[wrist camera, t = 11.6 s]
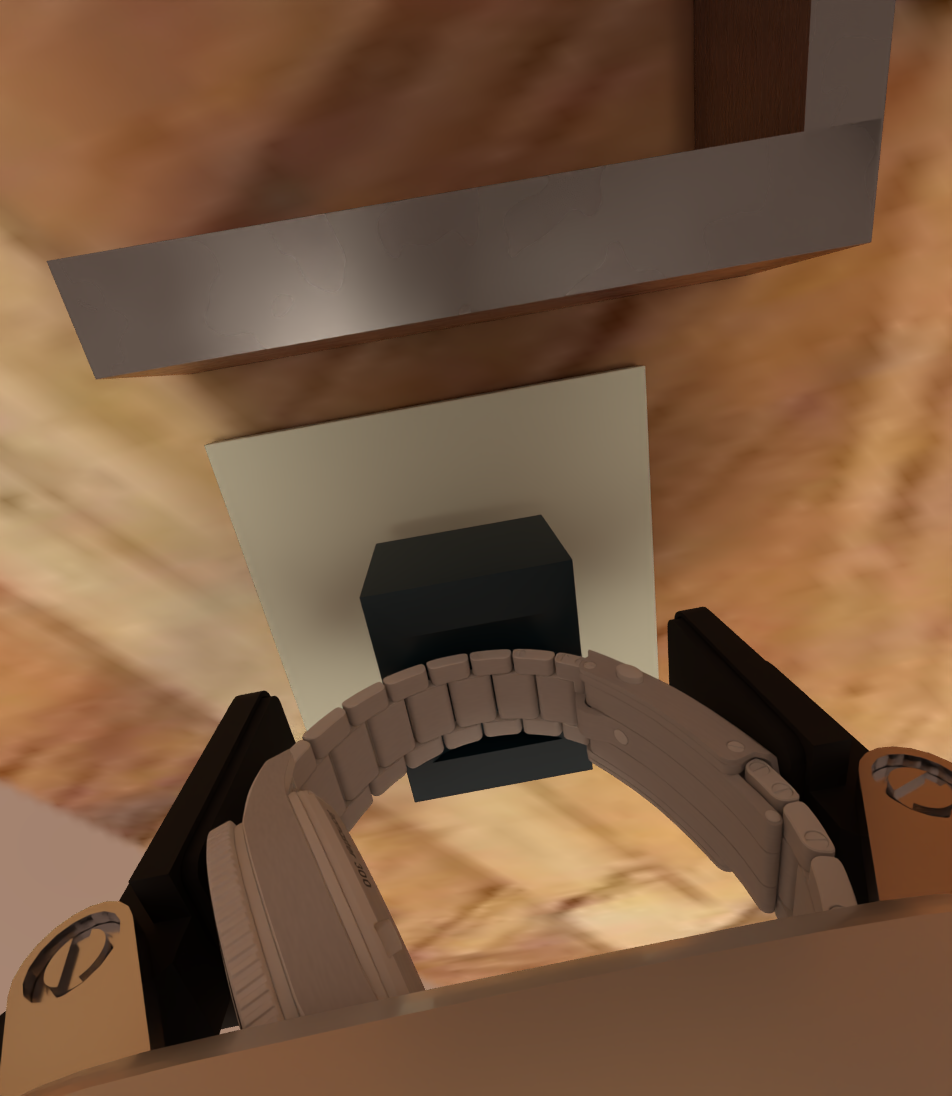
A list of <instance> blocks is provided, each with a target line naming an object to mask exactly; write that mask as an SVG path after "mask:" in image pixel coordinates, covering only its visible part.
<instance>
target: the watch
mask: <svg viewBox="0 0 952 1096" xmlns="http://www.w3.org/2000/svg"><path fill="white" fill-rule="evenodd" d="M359 598H360V602H361V606H362V609H363V613H364V617H365V620H366V624H367V628H368V631H369V635H370V639H371V642H372V646H373V650H374V653H375V657H376V661H377V664H378V668H379V672H380V675H381V679H382V683H383V684H382V683H381V682H377V683H375V684H373V685H371V686H369V687H367V688H365V689H363V690H361V691H360V692H358V693H356V694H355V695H353V696H351V697H350V698H348V699H347V700H345V701H344V702H343V703H342V707H343V709H342V708H340V707H337V708H335V709H334V710H332V711H331V712H329V713H328V714H327V715H325V716H324V717H323V718H322V719H320V720H319V721H318V722H317V723H315V724H314V725H313V726H312V727H311V728H310V729H309V730H308V731H306V732H305V733H304V735H303V737H302V738H303V740H300V741H298V742H297V743H295V744H294V745H293V746H292V747H291V748H290V749H288V750H286V751H284V752H282V753H280V754H279V755H277V756H275V757H273V758H271V759H269V760H267V761H266V762H265V763H264V765H263V767H262V768H261V770H260V771H259V773H258V774H257V776H256V778H255V779H254V781H253V783H252V785H251V788H250V790H249V793H248V796H247V800H246V804H245V809H244V815H243V821H242V823H240V824H238V825H237V826H236V825H235V824H234V823H233V822H232V821H227V822H226V823H224V824H222V825H220V826H219V827H217V828H215V829H213V830H211V831H210V832H209V834H208V838H207V850H206V867H207V877H208V885H209V892H210V898H211V904H212V909H213V915H214V920H215V925H216V930H217V934H218V939H219V944H220V949H221V953H222V958H223V962H224V967H225V972H226V976H227V980H228V984H229V988H230V992H231V996H232V1000H233V1004H234V1008H235V1012H236V1016H237V1019H238V1023H239V1027H240V1030H241V1029H246V1028H250V1027H255V1026H259V1025H264V1024H269V1023H273V1022H278V1021H283V1020H288V1019H292V1018H297V1017H302V1016H306V1015H311V1014H316V1013H321V1012H325V1011H330V1010H335V1009H340V1008H344V1007H349V1006H354V1005H358V1004H363V1003H368V1002H373V1001H377V1000H382V999H387V998H391V997H396V996H401V995H406V994H410V993H415V992H420V991H425V988H424V986H423V984H422V982H421V979H420V977H419V975H418V973H417V970H416V968H415V966H414V964H413V962H412V959H411V957H410V955H409V953H408V951H407V949H406V946H405V944H404V942H403V940H402V938H401V936H400V933H399V931H398V929H397V927H396V925H395V923H394V921H393V919H392V917H391V914H390V912H389V910H388V908H387V906H386V904H385V902H384V900H383V898H382V896H381V894H380V892H379V890H378V888H377V886H376V884H375V882H374V880H373V878H372V876H371V874H370V872H369V870H368V868H367V866H366V864H365V862H364V860H363V858H362V856H361V854H360V852H359V851H358V849H357V847H356V845H355V843H354V841H353V839H352V838H351V836H350V834H349V831H350V830H351V829H352V828H353V827H354V825H355V824H356V823H357V821H358V820H359V819H360V817H361V816H362V815H363V814H364V812H365V811H366V810H367V809H368V808H369V807H370V805H371V804H372V802H373V798H372V795H374V796H379V795H381V794H383V793H384V792H385V791H386V790H387V789H388V788H389V787H390V786H392V785H393V784H394V783H395V782H396V781H398V780H399V779H400V778H401V777H403V776H404V775H405V774H406V772H407V775H408V778H409V782H410V786H411V790H412V793H413V797H414V801H415V802H420V801H425V800H431V799H436V798H441V797H447V796H452V795H457V794H463V793H468V792H473V791H479V790H484V789H490V788H495V787H500V786H506V785H511V784H516V783H522V782H527V781H532V780H538V779H543V778H549V777H554V776H559V775H565V774H570V773H575V772H581V771H586V770H592V769H593V768H592V763H593V764H595V765H597V766H598V767H600V768H602V769H603V770H605V771H607V772H608V773H610V774H611V775H613V776H614V777H616V778H617V779H619V780H620V781H622V782H623V783H625V784H626V785H628V786H629V787H630V788H632V789H633V790H635V791H636V792H637V793H639V794H640V795H641V796H643V797H644V798H645V799H647V800H648V801H649V802H650V803H652V804H653V805H654V806H655V807H657V808H658V809H659V810H660V811H661V812H663V813H664V814H665V815H666V816H667V817H668V818H669V819H670V820H671V821H672V822H674V823H675V824H676V825H677V826H678V827H679V828H680V829H681V830H682V831H683V832H684V833H685V834H686V835H687V836H688V837H689V838H690V839H691V840H692V841H693V842H694V843H695V844H696V845H697V846H698V847H699V848H700V849H701V850H702V851H703V852H704V853H705V854H706V855H707V856H708V857H709V858H710V860H711V861H712V862H713V863H714V864H715V865H716V866H717V867H718V868H720V869H721V870H723V871H726V872H733V873H734V874H735V876H736V877H737V878H738V879H739V880H740V882H741V883H742V884H743V886H744V887H745V889H746V890H747V891H748V893H749V894H750V896H751V897H752V899H753V900H754V902H755V903H756V905H757V906H758V907H759V909H760V910H762V911H763V912H765V913H773V912H774V911H775V914H776V916H777V918H778V919H781V918H787V917H792V916H798V915H804V914H809V913H815V912H820V911H826V910H832V909H837V908H843V907H849V906H854V905H858V904H857V901H856V898H855V895H854V892H853V889H852V886H851V884H850V881H849V879H848V876H847V874H846V871H845V869H844V867H843V865H842V863H841V862H840V861H839V860H838V859H837V858H835V857H834V855H835V847H834V845H833V843H832V841H831V840H830V838H829V836H828V835H827V833H826V831H825V830H824V828H823V826H822V825H821V823H820V822H819V821H818V819H817V818H816V816H815V815H814V814H813V812H812V811H811V810H810V809H809V807H808V806H807V805H806V804H805V803H803V802H800V801H799V795H798V793H797V792H796V791H795V789H794V788H793V787H792V786H791V785H790V784H789V783H788V782H787V781H786V780H785V779H783V778H782V777H781V776H780V772H779V767H778V761H777V757H776V756H775V755H773V754H772V753H771V752H770V751H768V750H767V749H766V748H764V747H763V746H762V745H760V744H759V743H758V742H756V741H755V740H754V739H752V738H751V737H750V736H748V735H747V734H745V733H744V732H743V731H741V730H740V729H739V728H737V727H736V726H734V725H733V724H731V723H730V722H728V721H727V720H726V719H724V718H723V717H721V716H720V715H718V714H717V713H715V712H714V711H712V710H710V709H709V708H707V707H706V706H704V705H703V704H701V703H699V702H698V701H696V700H695V699H693V698H691V697H690V696H688V695H686V694H684V693H683V692H681V691H679V690H677V689H676V688H674V687H672V686H670V685H668V684H666V683H664V682H663V681H661V680H659V679H657V678H655V677H653V676H651V675H649V674H646V673H644V672H642V671H641V670H639V669H638V668H636V667H634V666H632V665H628V664H625V663H622V662H620V661H618V660H615V659H613V658H610V657H608V656H605V655H603V654H600V653H597V652H595V651H592V650H588V657H586V658H585V657H582V653H581V643H580V633H579V622H578V612H577V601H576V591H575V581H574V570H573V560H572V558H571V557H570V555H569V554H568V552H567V551H566V550H565V548H564V547H563V545H562V544H561V542H560V541H559V539H558V538H557V536H556V535H555V534H554V532H553V531H552V529H551V528H550V526H549V525H548V523H547V522H546V521H545V519H544V518H543V516H542V515H535V516H530V517H524V518H518V519H513V520H507V521H501V522H496V523H490V524H484V525H479V526H473V527H467V528H462V529H456V530H450V531H445V532H439V533H433V534H428V535H422V536H416V537H411V538H405V539H400V540H394V541H388V542H383V543H377V544H376V545H375V548H374V552H373V555H372V558H371V561H370V565H369V568H368V571H367V574H366V578H365V581H364V584H363V588H362V591H361V594H360V597H359ZM371 794H372V795H371Z"/></svg>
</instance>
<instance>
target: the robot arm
mask: <svg viewBox="0 0 952 1096" xmlns="http://www.w3.org/2000/svg"><path fill="white" fill-rule="evenodd" d="M668 658H669V685H670V686H672V687H674V688H676V689H677V690H679V691H681V692H683V693H684V694H686V695H688V696H690V697H691V698H693V699H695V700H696V701H698V702H699V703H701V704H703V705H704V706H706V707H707V708H709V709H710V710H712V711H714V712H715V713H717V714H718V715H720V716H721V717H723V718H724V719H726V720H727V721H728V722H730V723H731V724H733V725H734V726H736V727H737V728H739V729H740V730H741V731H743V732H744V733H745V734H747V735H748V736H750V737H751V738H752V739H754V740H755V741H756V742H758V743H759V744H760V745H762V746H763V747H764V748H766V749H767V750H768V751H770V752H771V753H772V754H773V755H775V756H776V757H777V761H778V767H779V772H780V776H781V777H782V778H783V779H785V780H786V781H787V782H788V783H789V784H790V785H791V786H792V787H793V788H794V789H795V791H796V792H797V793H798V795H799V801H800V802H803V803H805V804H806V805H807V806H808V807H809V809H810V810H811V811H812V812H813V814H814V815H815V816H816V818H817V819H818V821H819V822H820V823H821V825H822V826H823V828H824V830H825V831H826V833H827V835H828V836H829V838H830V840H831V841H832V843H833V845H834V847H835V855H834V857H835V858H837V859H838V860H839V861H840V862H841V863H842V865H843V867H844V869H845V871H846V874H847V876H848V879H849V881H850V884H851V886H852V889H853V892H854V895H855V898H856V901H857V904H858V905H854V906H849V907H843V908H837V909H832V910H826V911H820V912H815V913H809V914H804V915H798V916H792V917H787V918H781V919H776V920H770V921H765V922H760V923H755V924H750V925H745V926H740V927H735V928H730V929H725V930H720V931H715V932H710V933H705V934H700V935H695V936H690V937H685V938H680V939H675V940H670V941H665V942H660V943H655V944H650V945H645V946H640V947H635V948H630V949H625V950H620V951H615V952H610V953H605V954H600V955H595V956H590V957H585V958H580V959H576V960H571V961H566V962H561V963H556V964H551V965H546V966H541V967H536V968H531V969H527V970H522V971H517V972H512V973H507V974H502V975H497V976H493V977H488V978H483V979H478V980H473V981H468V982H463V983H459V984H454V985H449V986H444V987H439V988H434V989H430V990H425V991H420V992H415V993H410V994H406V995H401V996H396V997H391V998H387V999H382V1000H377V1001H373V1002H368V1003H363V1004H358V1005H354V1006H349V1007H344V1008H340V1009H335V1010H330V1011H325V1012H321V1013H316V1014H311V1015H306V1016H302V1017H297V1018H292V1019H288V1020H283V1021H278V1022H273V1023H269V1024H264V1025H259V1026H255V1027H250V1028H246V1029H241V1030H237V1031H233V1032H228V1033H224V1034H220V1030H221V1029H224V1028H229V1027H233V1026H239V1023H238V1019H237V1016H236V1012H235V1008H234V1004H233V1000H232V996H231V992H230V988H229V984H228V980H227V976H226V972H225V967H224V962H223V958H222V953H221V949H220V944H219V939H218V934H217V930H216V925H215V920H214V915H213V909H212V904H211V898H210V892H209V885H208V877H207V867H206V850H207V838H208V834H209V832H210V831H211V830H213V829H215V828H217V827H219V826H220V825H222V824H224V823H226V822H227V821H232V822H233V823H234V824H235V825H236V826H237V825H238V824H240V823H242V821H243V815H244V809H245V804H246V800H247V796H248V793H249V790H250V788H251V785H252V783H253V781H254V779H255V778H256V776H257V774H258V773H259V771H260V770H261V768H262V767H263V765H264V763H265V762H266V761H267V760H269V759H271V758H273V757H275V756H277V755H279V754H280V753H282V752H284V751H286V750H288V749H290V748H291V747H292V746H293V745H294V744H295V740H294V737H293V735H292V732H291V729H290V727H289V724H288V721H287V719H286V716H285V713H284V711H283V708H282V705H281V703H280V700H279V698H278V697H277V696H270V694H269V693H268V692H267V691H260V692H255V693H249V694H244V695H239V696H236V697H235V698H234V700H233V701H232V703H231V705H230V706H229V708H228V710H227V712H226V713H225V715H224V717H223V718H222V720H221V722H220V724H219V725H218V727H217V729H216V731H215V732H214V734H213V736H212V738H211V739H210V741H209V743H208V745H207V746H206V748H205V750H204V751H203V753H202V755H201V757H200V758H199V760H198V762H197V764H196V765H195V767H194V769H193V771H192V772H191V774H190V776H189V777H188V779H187V781H186V783H185V784H184V786H183V788H182V790H181V791H180V793H179V795H178V797H177V798H176V800H175V802H174V803H173V805H172V807H171V809H170V810H169V812H168V814H167V816H166V817H165V819H164V821H163V823H162V824H161V826H160V828H159V830H158V831H157V833H156V835H155V836H154V838H153V840H152V842H151V843H150V845H149V847H148V849H147V850H146V852H145V854H144V856H143V857H142V859H141V861H140V863H139V864H138V866H137V868H136V870H135V871H134V873H133V875H132V876H131V878H130V880H129V885H128V886H127V888H126V890H125V892H124V893H123V895H122V897H121V899H120V900H119V901H106V902H103V903H100V904H97V905H93V906H90V907H88V908H86V909H84V910H82V911H80V912H78V913H76V914H74V915H73V916H71V917H70V918H68V919H67V920H66V921H64V922H63V923H62V924H60V925H59V926H57V927H56V928H55V929H54V930H52V931H51V932H50V933H49V934H48V935H47V936H46V937H45V938H44V939H43V940H42V941H41V942H40V943H39V944H37V946H36V947H35V948H34V949H33V951H32V952H31V953H30V954H29V956H28V957H27V958H26V959H25V960H24V961H23V963H22V965H21V966H20V968H19V970H18V972H17V973H16V975H15V977H14V979H13V980H12V983H11V987H10V990H9V994H8V997H7V1007H6V1011H5V1012H4V1013H3V1014H1V1015H0V1096H952V763H951V762H949V761H947V760H945V759H942V758H940V757H938V756H935V755H933V754H930V753H927V752H923V751H919V750H915V749H912V748H903V747H893V746H892V747H882V748H876V749H874V750H871V751H869V750H867V749H866V748H865V747H864V746H863V745H862V744H861V743H860V742H859V741H857V740H856V739H855V738H854V737H853V736H852V735H851V734H850V733H848V732H847V731H846V730H845V729H844V728H843V727H842V726H841V725H840V724H838V723H837V722H836V721H835V720H834V719H833V718H832V717H831V716H829V715H828V714H827V713H826V712H825V711H824V710H823V709H822V708H820V707H819V706H818V705H817V704H816V703H815V702H814V701H813V700H812V699H810V698H809V697H808V696H807V695H806V694H805V693H804V692H803V691H801V690H800V689H799V688H798V687H797V686H796V685H795V684H794V683H792V682H791V681H790V680H789V679H788V678H787V677H786V676H785V675H784V674H782V673H781V672H780V671H779V670H778V669H777V668H776V667H775V666H773V665H772V664H770V663H769V662H768V661H765V660H764V659H763V658H762V657H761V656H760V655H759V654H758V653H756V652H755V651H754V650H753V649H752V648H751V647H750V646H749V645H748V644H746V643H745V642H744V641H743V640H742V639H741V638H740V637H739V636H738V635H736V634H735V633H734V632H733V631H732V630H731V629H730V628H729V627H728V626H726V625H725V624H724V623H723V622H722V621H721V620H720V619H719V618H718V617H716V616H715V615H714V614H713V613H712V612H711V611H710V610H709V609H707V608H706V607H699V608H694V609H688V610H683V611H678V612H677V613H676V614H675V618H674V619H673V620H669V621H668ZM219 1034H220V1035H219Z"/></svg>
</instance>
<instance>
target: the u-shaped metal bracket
mask: <svg viewBox="0 0 952 1096" xmlns="http://www.w3.org/2000/svg"><path fill="white" fill-rule="evenodd" d="M895 1H896V0H694V47H695V150H692V151H687V152H681V153H675V154H669V155H663V156H657V157H652V158H646V159H640V160H634V161H628V162H622V163H616V164H611V165H605V166H599V167H593V168H587V169H581V170H576V171H570V172H564V173H558V174H552V175H546V176H541V177H535V178H529V179H523V180H517V181H511V182H506V183H500V184H494V185H488V186H482V187H476V188H471V189H465V190H459V191H453V192H447V193H441V194H435V195H430V196H424V197H418V198H412V199H406V200H400V201H395V202H389V203H383V204H377V205H371V206H365V207H360V208H354V209H348V210H342V211H336V212H330V213H325V214H319V215H313V216H307V217H301V218H295V219H289V220H284V221H278V222H272V223H266V224H260V225H254V226H249V227H243V228H237V229H231V230H225V231H219V232H214V233H208V234H202V235H196V236H190V237H184V238H179V239H173V240H167V241H161V242H155V243H149V244H144V245H138V246H132V247H126V248H120V249H114V250H108V251H103V252H97V253H91V254H85V255H79V256H73V257H68V258H62V259H56V260H50V261H47V263H48V265H49V268H50V270H51V273H52V275H53V277H54V280H55V282H56V285H57V287H58V289H59V292H60V294H61V297H62V299H63V302H64V304H65V306H66V309H67V311H68V314H69V316H70V318H71V321H72V323H73V326H74V328H75V330H76V333H77V335H78V338H79V340H80V342H81V345H82V347H83V350H84V352H85V354H86V357H87V359H88V362H89V364H90V366H91V369H92V371H93V374H94V376H95V378H96V379H111V378H129V377H147V376H166V375H184V374H193V373H199V372H205V371H210V370H216V369H222V368H227V367H233V366H238V365H244V364H250V363H255V362H261V361H267V360H272V359H278V358H284V357H289V356H295V355H300V354H306V353H312V352H317V351H323V350H329V349H334V348H340V347H346V346H351V345H357V344H362V343H368V342H374V341H379V340H385V339H391V338H396V337H402V336H408V335H413V334H419V333H424V332H430V331H436V330H441V329H447V328H453V327H458V326H464V325H470V324H475V323H481V322H486V321H492V320H498V319H503V318H509V317H515V316H520V315H526V314H532V313H537V312H543V311H548V310H554V309H560V308H565V307H571V306H577V305H582V304H588V303H594V302H599V301H605V300H610V299H616V298H622V297H627V296H633V295H639V294H644V293H650V292H656V291H661V290H667V289H672V288H678V287H684V286H689V285H695V284H701V283H706V282H712V281H718V280H723V279H729V278H734V277H740V276H746V275H751V274H755V273H758V272H762V271H766V270H770V269H773V268H777V267H781V266H784V265H788V264H792V263H796V262H799V261H803V260H807V259H811V258H814V257H818V256H822V255H825V254H829V253H833V252H837V251H840V250H844V249H848V248H851V247H855V246H859V245H863V244H866V243H870V242H871V239H872V229H873V220H874V210H875V200H876V190H877V180H878V170H879V160H880V150H881V140H882V130H883V120H884V110H885V100H886V90H887V80H888V70H889V60H890V50H891V40H892V30H893V20H894V10H895Z"/></svg>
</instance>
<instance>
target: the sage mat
mask: <svg viewBox="0 0 952 1096" xmlns="http://www.w3.org/2000/svg"><path fill="white" fill-rule="evenodd" d="M204 446H205V449H206V452H207V455H208V457H209V460H210V463H211V466H212V468H213V471H214V474H215V477H216V480H217V482H218V485H219V488H220V491H221V494H222V496H223V499H224V502H225V505H226V507H227V510H228V513H229V516H230V519H231V521H232V524H233V527H234V530H235V533H236V535H237V538H238V541H239V544H240V546H241V549H242V552H243V555H244V558H245V560H246V563H247V566H248V569H249V572H250V574H251V577H252V580H253V583H254V586H255V588H256V591H257V594H258V597H259V599H260V602H261V605H262V608H263V611H264V613H265V616H266V619H267V622H268V625H269V627H270V630H271V633H272V636H273V638H274V641H275V644H276V647H277V650H278V652H279V655H280V658H281V661H282V664H283V666H284V669H285V672H286V675H287V678H288V680H289V683H290V686H291V689H292V691H293V694H294V697H295V700H296V703H297V705H298V708H299V711H300V714H301V717H302V719H303V722H304V725H305V728H306V730H307V731H308V730H309V729H310V728H311V727H312V726H313V725H314V724H315V723H317V722H318V721H319V720H320V719H322V718H323V717H324V716H325V715H327V714H328V713H329V712H331V711H332V710H334V709H335V708H337V707H340V708H342V709H343V707H342V703H343V702H344V701H345V700H347V699H348V698H350V697H351V696H353V695H355V694H356V693H358V692H360V691H361V690H363V689H365V688H367V687H369V686H371V685H373V684H375V683H377V682H381V683H382V679H381V675H380V672H379V668H378V664H377V661H376V657H375V653H374V650H373V646H372V642H371V639H370V635H369V631H368V628H367V624H366V620H365V617H364V613H363V609H362V606H361V602H360V598H359V597H360V594H361V591H362V588H363V584H364V581H365V578H366V574H367V571H368V568H369V565H370V561H371V558H372V555H373V552H374V548H375V545H376V544H377V543H383V542H388V541H394V540H400V539H405V538H411V537H416V536H422V535H428V534H433V533H439V532H445V531H450V530H456V529H462V528H467V527H473V526H479V525H484V524H490V523H496V522H501V521H507V520H513V519H518V518H524V517H530V516H535V515H542V516H543V518H544V519H545V521H546V522H547V523H548V525H549V526H550V528H551V529H552V531H553V532H554V534H555V535H556V536H557V538H558V539H559V541H560V542H561V544H562V545H563V547H564V548H565V550H566V551H567V552H568V554H569V555H570V557H571V558H572V560H573V570H574V581H575V591H576V601H577V612H578V622H579V633H580V643H581V653H582V657H585V658H586V657H588V650H592V651H595V652H597V653H600V654H603V655H605V656H608V657H610V658H613V659H615V660H618V661H620V662H622V663H625V664H628V665H632V666H634V667H636V668H638V669H639V670H641V671H642V672H644V673H646V674H649V675H651V676H653V677H655V678H657V679H659V675H658V652H657V629H656V606H655V583H654V560H653V536H652V513H651V490H650V467H649V444H648V421H647V397H646V374H645V366H632V367H626V368H620V369H615V370H609V371H604V372H598V373H593V374H587V375H582V376H576V377H571V378H565V379H560V380H554V381H549V382H543V383H537V384H532V385H526V386H521V387H515V388H510V389H504V390H499V391H493V392H488V393H482V394H477V395H471V396H466V397H460V398H454V399H449V400H443V401H438V402H432V403H427V404H421V405H416V406H410V407H405V408H399V409H394V410H388V411H382V412H377V413H371V414H366V415H360V416H355V417H349V418H344V419H338V420H333V421H327V422H322V423H316V424H311V425H305V426H299V427H294V428H288V429H283V430H277V431H272V432H266V433H261V434H255V435H250V436H244V437H239V438H233V439H227V440H222V441H216V442H212V443H209V444H207V445H204ZM382 684H383V683H382Z"/></svg>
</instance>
